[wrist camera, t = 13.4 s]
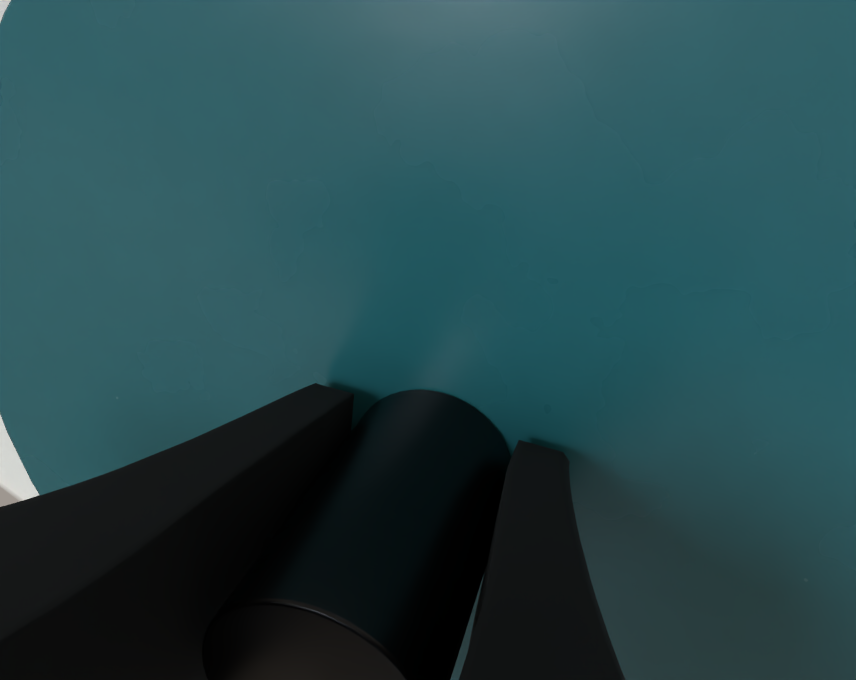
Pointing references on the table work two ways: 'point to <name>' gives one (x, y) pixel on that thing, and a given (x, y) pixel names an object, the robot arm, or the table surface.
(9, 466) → the table surface
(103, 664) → the robot arm
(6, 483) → the table surface
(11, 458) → the table surface
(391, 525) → the teal disc
